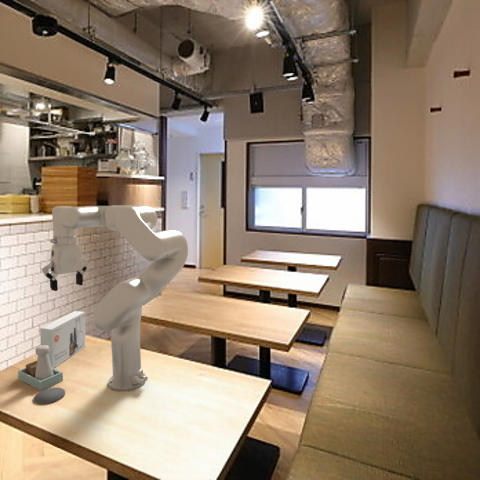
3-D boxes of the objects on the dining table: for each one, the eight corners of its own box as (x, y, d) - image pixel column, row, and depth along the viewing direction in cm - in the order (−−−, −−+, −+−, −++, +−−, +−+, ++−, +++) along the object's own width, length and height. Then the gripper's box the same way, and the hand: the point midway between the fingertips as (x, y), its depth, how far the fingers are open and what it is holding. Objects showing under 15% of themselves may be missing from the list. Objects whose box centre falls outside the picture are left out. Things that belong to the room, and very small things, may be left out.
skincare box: (53, 370, 141) (50, 329, 138) (40, 368, 142) (37, 328, 140) (87, 346, 161) (85, 311, 159) (75, 345, 162) (73, 310, 160)
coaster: (70, 394, 124) (70, 392, 124) (44, 407, 117) (44, 405, 117) (54, 386, 129) (54, 384, 129) (28, 398, 121) (28, 397, 121)
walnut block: (43, 376, 136) (42, 363, 135) (32, 381, 133) (31, 367, 132) (37, 373, 138) (36, 360, 137) (26, 378, 135) (25, 364, 134)
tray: (63, 380, 133) (62, 372, 133) (40, 390, 126) (40, 382, 126) (40, 370, 140) (40, 362, 140) (18, 379, 134) (18, 371, 133)
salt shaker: (40, 377, 135) (37, 343, 133) (56, 377, 135) (54, 342, 133) (32, 386, 129) (29, 350, 127) (49, 385, 129) (47, 349, 128)
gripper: (47, 244, 125) (49, 294, 128) (93, 239, 139) (94, 284, 142) (35, 242, 129) (37, 290, 132) (81, 237, 144) (82, 281, 146)
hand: (67, 287), depth 137 cm, fingers open, 9 cm apart
